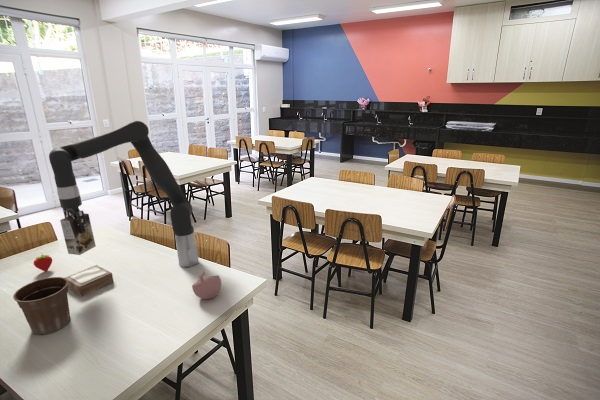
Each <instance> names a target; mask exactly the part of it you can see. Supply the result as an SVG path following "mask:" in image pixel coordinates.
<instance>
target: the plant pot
mask: <svg viewBox="0 0 600 400" xmlns="http://www.w3.org/2000/svg"><path fill="white" fill-rule="evenodd" d="M67 285H68V280H67V279H65V277H61V276H53V277H51V276H50V277H47V278H42V279H40V278H39V279H37V280H34V281H32V282H29V283H27V284H26V285H23V286H21V287H20V288H19V289H17V290H16V291H15V292H14V294H13V295H12V296H13V297H12V298H13V300H14V301H15V302H16V303H17V305H18V307H19V308H20V309H21V310H22V314H23V315H24V317H25V320H26V322H27V324H28V326H29V329H30V331H31V332H32V334H34V335H38V336H41V335H44V334H48V335H49V334H52V333H55V332H56V331H59V330H61V329H63V328H64V327H65V326H67V325H68V324H69V322H70V320H71V313H70V306H69V298H68V292H69V288H67Z"/></svg>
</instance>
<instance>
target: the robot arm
mask: <svg viewBox="0 0 600 400" xmlns="http://www.w3.org/2000/svg"><path fill="white" fill-rule="evenodd" d="M149 133H150V131H149V127H148V126H147V124H146V123H144V122H143V121H140V120H132V121H130V122H128V123H127V124H126V125H123V126H121V127H120V128H117V129H115V130H113V131H109V132H106V133H103V134H100V135H97V136H96V135H95V136H92V137H89V138H86V139H84V140H80V141H78V142H77V141H76V142H75V143H72V144H68V145H63V146H59V147H56V148H54V149H52V150H50V152H49V154H48V159H49V163H50V167H51V170H52V172H53V175H54V176H53V177H54V182H55V186H56V191H57V192H56V194H57V197H58V200H59V204H60V208H62V212H63V216H64V218H67V217H69V216H70V217H72V219H75V218H77V219H76V220H75V221H76V222H77V225H78V229H79V233H80V234H82V233H85V227H84V224H86V220H85V216H84V213H85V212H84V209H83V210H80V209H79V207H80V206H82V204H83V202H82V198H81V194H80V189H79V187H78V185H77V179H76V176H75V173H74V169H73V163H72V162H74V161H76V160H80V159H87V158H89V157H92V156H96V155H98V154H101V153H103V152H106V151H108V150H110V149H112V148H116V147H117V146H120V145H123V144H128V143H130V144H131V145H132V146H133V147H134V149H135V150H136V151H137V153H138V155H139V157H140V158H141V161H142V163H143V165H144V168H145V169H146V171H147V173H148V175H149V176H150V178H151V180H152V181H153V183H154V184H155V186H157V187H158V188H159V190H161V191H162V192H163V193H164V194H165V195H166V196H167V198H168V199H169V201H170V203H171V205H172V207H171V209H170V221H171V226H172V229H173V230H172V231H173V232H174V238H175V245H176V251H177V259H178V264H179V266H180V267H182V268H191V267H194V266H196V265H197V264H199V263H200V261H199V254H198V253H199V252H198V251H199V250H198V246H197V244H196V237H195V228H194V226H193V224H192V218H191V215H192V213H193V205H192V204H191V202H190V201H189V199H188V198H187V197H186V195H185V193H183V191H182V189H181V188H180V186H179V184H178V182H177V180H176V178H175V177H174V175H173V172H172V170H171V169H170V167H169V165H168V164H167V162H166V161H165V160H164V158H163V157H162V156H161V155H160V154H159V152H158V151H157V150H156V149H155V146H153V143H152V141H151V140H150V137H149Z"/></svg>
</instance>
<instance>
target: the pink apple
mask: <svg viewBox="0 0 600 400" xmlns="http://www.w3.org/2000/svg"><path fill="white" fill-rule="evenodd" d="M205 274H206V272H205V271H202V273H201V274H200V275H199V279H198V280H197V281H195V282H194V283H192V285H191V288H192V292H193V293H194V295H195V296H196V297H198V298H199V299H202V300H209V299H212V298H214V297H216V296H217V295H218V294H219V292H220V291H221V288H222V280H221V277H220V275H218V274H217V275H212V276H209V277H204V276H205ZM203 277H204V278H203Z"/></svg>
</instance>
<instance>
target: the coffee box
mask: <svg viewBox="0 0 600 400" xmlns="http://www.w3.org/2000/svg"><path fill="white" fill-rule="evenodd" d="M84 216H85V220H86V224H84V227H85V233H82V234H80V233H79V229H78V225H77V222H76V221H75V220H76V219H77V218H75V219H72V217H70V216H69V217H67V218H65V217H64V218H62V219H60V220H59V221H60V226H61V229H62V233H63V238H64V241H65V246H66V249H67V253H68V255H77V256H81V255H82V254H84V253H87V252H88V251H90V250H92V249H94V248H96V241H95V236H94V232H93V229H92V223H91V219H90V215H89V213H85V212H84Z"/></svg>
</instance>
